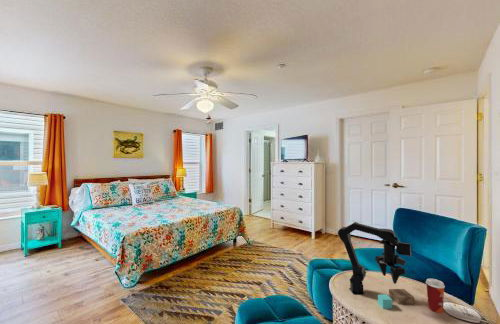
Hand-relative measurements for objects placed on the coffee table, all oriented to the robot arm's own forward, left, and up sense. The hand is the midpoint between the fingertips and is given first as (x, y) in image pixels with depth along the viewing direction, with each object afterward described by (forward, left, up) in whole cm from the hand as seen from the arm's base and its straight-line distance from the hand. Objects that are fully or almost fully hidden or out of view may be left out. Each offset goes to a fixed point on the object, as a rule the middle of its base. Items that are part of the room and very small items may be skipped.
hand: (389, 279), depth 135 cm
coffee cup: (+20, -8, -13) cm, 25 cm away
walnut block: (+8, +2, -13) cm, 15 cm away
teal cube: (-5, -4, -13) cm, 14 cm away
